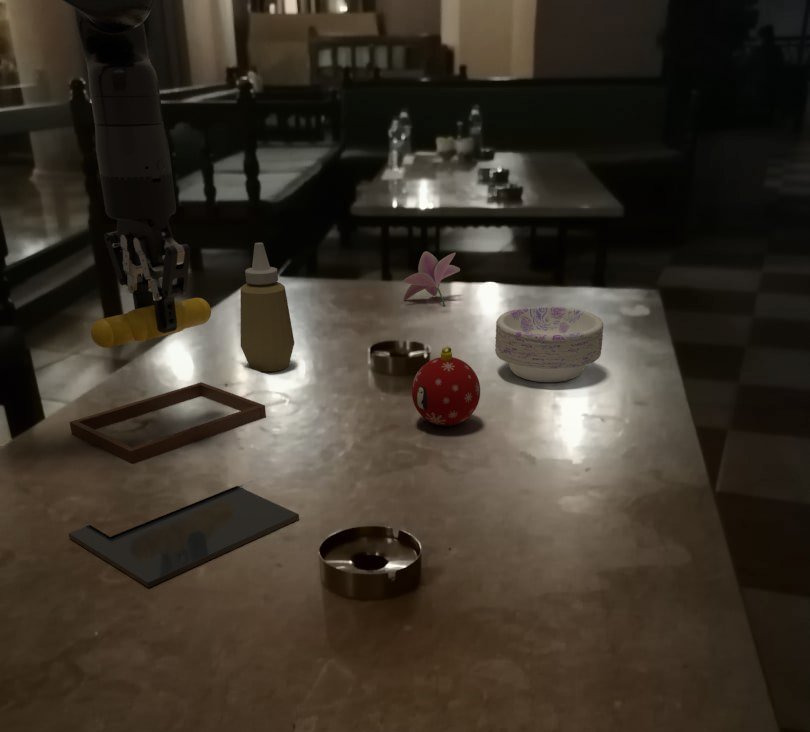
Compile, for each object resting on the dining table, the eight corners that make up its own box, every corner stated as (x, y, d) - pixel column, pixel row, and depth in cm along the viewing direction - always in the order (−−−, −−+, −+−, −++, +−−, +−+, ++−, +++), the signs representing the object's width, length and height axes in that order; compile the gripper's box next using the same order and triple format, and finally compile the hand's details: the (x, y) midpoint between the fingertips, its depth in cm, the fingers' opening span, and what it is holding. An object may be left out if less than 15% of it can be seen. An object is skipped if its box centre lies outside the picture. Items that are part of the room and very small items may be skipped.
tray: (133, 471, 104) (130, 451, 103) (72, 440, 112) (69, 421, 111) (266, 423, 116) (265, 405, 115) (203, 399, 124) (201, 382, 123)
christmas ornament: (493, 425, 115) (496, 348, 110) (440, 442, 110) (441, 362, 106) (449, 406, 121) (450, 333, 116) (398, 421, 116) (397, 345, 112)
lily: (470, 301, 173) (452, 253, 172) (475, 291, 162) (456, 239, 161) (411, 323, 174) (393, 275, 173) (412, 315, 162) (393, 263, 161)
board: (148, 588, 81) (147, 582, 81) (69, 538, 90) (68, 533, 90) (299, 519, 93) (299, 514, 93) (216, 480, 101) (216, 475, 101)
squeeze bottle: (299, 358, 140) (291, 237, 131) (292, 375, 133) (283, 249, 124) (247, 358, 140) (236, 238, 132) (237, 375, 133) (224, 249, 125)
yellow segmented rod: (108, 350, 99) (98, 317, 98) (91, 353, 102) (81, 321, 101) (223, 321, 110) (215, 290, 108) (205, 324, 112) (197, 295, 111)
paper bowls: (518, 395, 125) (521, 338, 121) (479, 362, 137) (480, 310, 133) (618, 383, 128) (624, 328, 124) (570, 353, 141) (575, 302, 137)
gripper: (69, 167, 99) (96, 323, 107) (142, 178, 91) (165, 347, 99) (129, 161, 104) (150, 311, 112) (204, 171, 95) (220, 332, 104)
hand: (157, 327), depth 105 cm, fingers closed on yellow segmented rod, 3 cm apart
